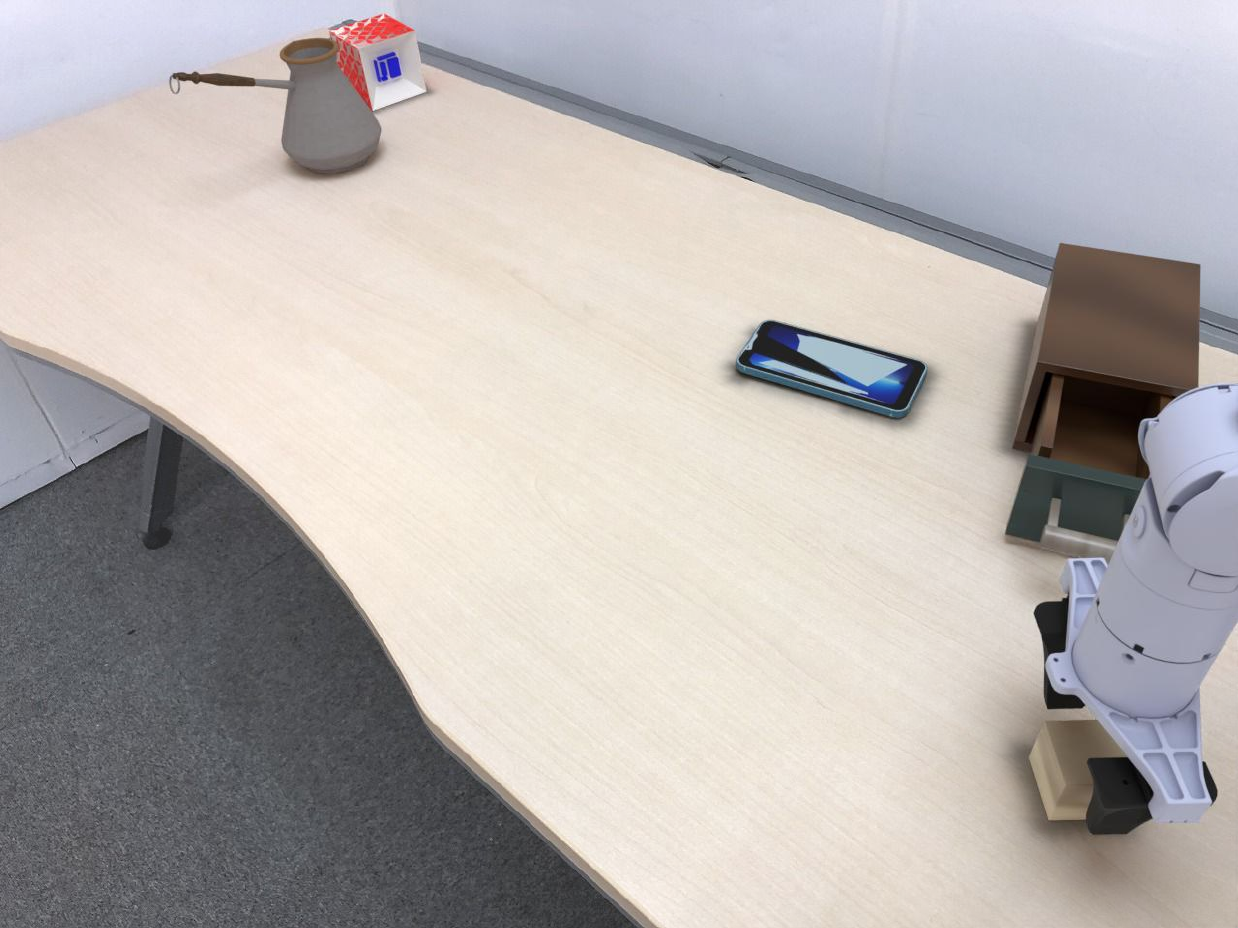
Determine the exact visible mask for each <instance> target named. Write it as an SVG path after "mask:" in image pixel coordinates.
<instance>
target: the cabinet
mask: <svg viewBox="0 0 1238 928" xmlns="http://www.w3.org/2000/svg"><path fill="white" fill-rule="evenodd" d="M1201 268H1202V266H1201V264H1200V263H1196V262H1195V263H1194V262H1189V261H1182V260H1176V259H1169V258H1161V257H1155V256H1150V255H1142V254H1136V253H1129V252H1124V251H1123V252H1122V251H1118V250H1117V251H1116V250H1110V249H1103V248H1096V247H1089V246H1083V245H1077V244H1071V243H1065V242H1064V243H1063V242H1060V243H1059V244H1058V247H1057V251H1056V255H1055V258H1054V262H1053V266H1052V269H1051V272H1050V275H1049V280H1048V283H1047V287H1046V290H1045V294H1044V297H1043V301H1042V305H1041V308H1040V312H1039V315H1038V319H1037V322H1036V325H1035V330H1034V335H1033V341H1032V345H1031V351H1030V355H1029V361H1028V365H1027V370H1026V375H1025V379H1024V380H1025V381H1024V384H1023V391H1022V394H1021V400H1020V406H1019V410H1018V416H1017V420H1016V425H1015V431H1014V436H1013V440H1012V446H1011V448H1012V449H1013V450H1019V451H1022V452H1027V453H1031V448H1032V442H1033V437H1034V431H1035V426H1036V420H1037V415H1038V409H1039V404H1040V398H1041V395H1042V392H1043V388H1044V385H1045V382H1046V378H1047V375H1048V372H1050V373H1055V374H1060V375H1066V376H1071V377H1076V378H1081V379H1087V380H1092V381H1097V382H1102V383H1108V384H1113V385H1118V386H1123V387H1129V388H1134V389H1139V390H1144V391H1150V392H1155V393H1160V394H1166V395H1171V396H1173V400H1174V399H1175V398H1177V397H1178V396H1180V395H1182V394H1184V393H1186V392H1188V391H1190V390H1192V389H1195V388H1198V387H1199V382H1200V381H1199V379H1200V378H1199V377H1200V376H1199V375H1200V325H1201V324H1200V323H1201V321H1200V320H1201V318H1200V317H1201V271H1202V269H1201Z"/></svg>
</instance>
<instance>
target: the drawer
mask: <svg viewBox="0 0 1238 928" xmlns="http://www.w3.org/2000/svg"><path fill="white" fill-rule="evenodd" d="M1171 401H1173V396H1171V395H1166V394H1160V393H1155V392H1150V391H1144V390H1139V389H1134V388H1129V387H1123V386H1118V385H1113V384H1108V383H1102V382H1097V381H1092V380H1087V379H1081V378H1076V377H1071V376H1066V375H1060V374H1055V373H1050V372H1048V375H1047V378H1046V382H1045V385H1044V388H1043V392H1042V395H1041V398H1040V404H1039V409H1038V415H1037V420H1036V426H1035V431H1034V437H1033V442H1032V448H1031V452H1030V453H1028V454H1027V456H1026V459H1025V463H1024V466H1023V469H1022V471H1021V472H1022V473H1021V474H1020V475H1021V476H1020V478H1019V482H1018V485H1017V488H1016V492H1015V495H1014V498H1013V501H1012V505H1011V509H1010V512H1009V515H1008V518H1007V521H1006V525H1005V532H1004V536H1009V537H1014V538H1017V539H1023V540H1025V541H1030V542H1035V543H1039V549H1042V550H1046V551H1050V552H1055V553H1058V554H1063V555H1068V556H1071V557H1075V558H1104V559H1105V561H1106V563H1107V565H1108V564H1109V562H1110V559H1111V557H1112V555H1113V553H1114V550H1115V548H1116V546H1117V543H1118V541H1119V539H1120V536H1121V534H1122V532H1123V529H1124V527H1125V525H1126V523H1127V521H1128V519H1129V517H1130V515H1131V513H1132V511H1133V508H1134V506H1135V504H1136V501H1137V499H1138V497H1139V494H1140V492H1141V490H1142V487H1143V485H1144V483H1145V481H1146V480H1147V479H1148V478H1149V476H1150V470H1149V466H1148V464H1147V463H1146V462H1145V460H1144V458H1143V456H1142V454H1141V450H1140V446H1139V441H1138V432H1139V427H1140V423H1141V421H1142V420H1144V419H1152V418H1156V417H1158V415H1159V414H1160V413H1161V411H1162V410H1163V409H1164V408H1165V407H1166V406H1167V405H1168V404H1169V403H1170V402H1171Z"/></svg>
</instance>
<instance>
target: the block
mask: <svg viewBox="0 0 1238 928" xmlns="http://www.w3.org/2000/svg"><path fill="white" fill-rule="evenodd" d="M1042 723H1043V724H1042V726H1041V727H1040V730H1039V733H1038V735H1037V737H1036V739H1035V742H1034V744H1033V746H1032V748H1031V751H1030V753H1029V755H1028V760H1029V764H1030V765H1031V769H1032V773H1033V775H1034V779H1035V782H1036V785H1037V788H1038V792H1039V795H1040V798H1041V801H1042V804H1043V807H1044V811H1045V813H1046V817H1047V820H1048V821H1079V820H1081V821H1084V820H1085V821H1086V812H1087V809H1088V806H1089V803H1090V801H1091V798H1092V794H1093V778H1092V776H1091V773H1090V770H1089V767H1088V764H1087V760H1088V758H1100V757H1127V755H1126V754H1125V753H1124V752H1123V751H1122V749H1121V748H1120V747H1119V746H1118V744H1117V743H1116V742H1115V741H1114V739H1113V738H1112V737H1111V736H1110V734H1109V733H1108V732H1107V731H1106V730H1105V728H1104V727H1103V726H1102V725H1101V723H1100V722H1099V721H1098V720H1097V719H1073V720H1071V719H1070V720H1045V721H1043V722H1042Z"/></svg>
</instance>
